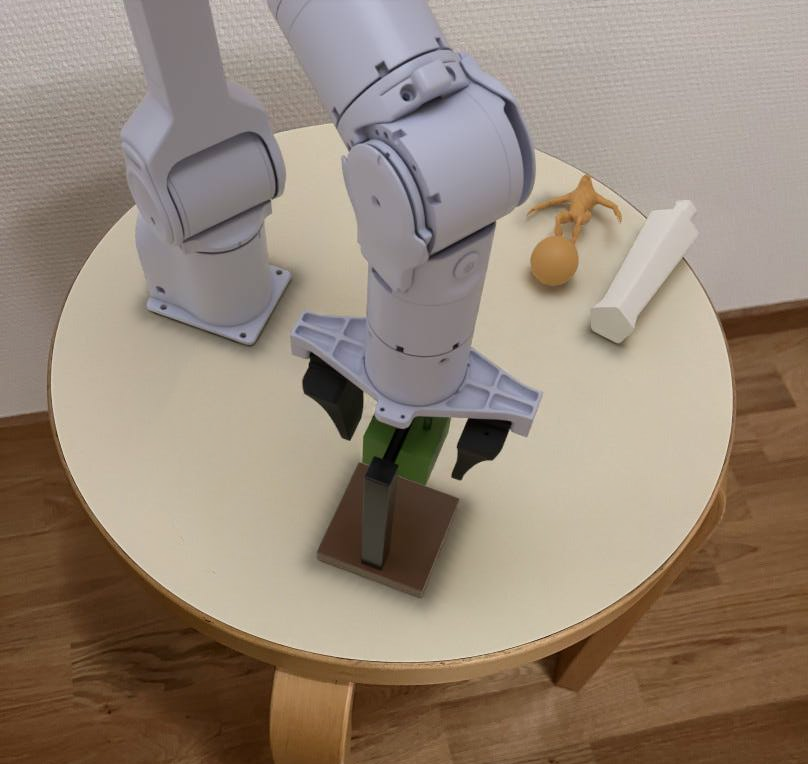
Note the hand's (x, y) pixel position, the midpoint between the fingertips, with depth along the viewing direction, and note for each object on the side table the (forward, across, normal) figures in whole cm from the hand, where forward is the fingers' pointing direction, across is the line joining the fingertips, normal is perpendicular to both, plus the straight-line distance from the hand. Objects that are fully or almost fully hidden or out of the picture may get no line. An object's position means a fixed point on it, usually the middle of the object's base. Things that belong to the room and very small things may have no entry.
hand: (405, 447), depth 59 cm
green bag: (0, 0, 0) cm, 0 cm away
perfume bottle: (+7, +10, +21) cm, 25 cm away
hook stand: (+9, 0, -2) cm, 9 cm away
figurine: (+8, +4, +24) cm, 25 cm away
